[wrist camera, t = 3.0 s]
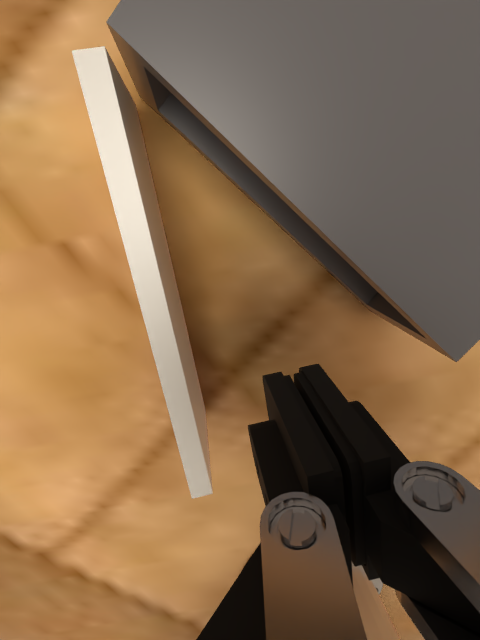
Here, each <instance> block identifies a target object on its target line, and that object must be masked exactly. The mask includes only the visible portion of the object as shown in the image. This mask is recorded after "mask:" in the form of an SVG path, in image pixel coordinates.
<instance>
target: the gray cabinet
mask: <svg viewBox="0 0 480 640" xmlns="http://www.w3.org/2000/svg"><path fill="white" fill-rule="evenodd" d="M107 25H108V27H109V29H110V31H111V33H112V36H113V38H114V40H115V42H116V45H117V47H118V49H119V51H120V53H121V56H122V58H123V60H124V62H125V65H126V67H127V69H128V71H129V73H130V76H131V78H132V80H133V82H134V85H135V87H136V89H137V91H138V93H139V96H140V97H141V98H142V99H143V100H144V101H145V102H146V103H147V104H148V105H149V106H150V107H152V108H153V109H154V110H155V111H156V112H157V113H158V114H159V115H160V116H161V117H162V118H163V119H164V120H166V121H167V122H168V123H169V124H170V125H171V126H172V127H173V128H174V129H175V130H176V131H177V132H178V133H180V134H181V135H182V136H183V137H184V138H185V139H186V140H187V141H188V142H189V143H190V144H191V145H192V146H194V147H195V148H196V149H197V150H198V151H199V152H200V153H201V154H202V155H203V156H204V157H205V158H206V159H208V160H209V161H210V162H211V163H212V164H213V165H214V166H215V167H216V168H217V169H218V170H219V171H220V172H222V173H223V174H224V175H225V176H226V177H227V178H228V179H229V180H230V181H231V182H232V183H233V184H234V185H236V186H237V187H238V188H239V189H240V190H241V191H242V192H243V193H244V194H245V195H246V196H247V197H248V198H250V199H251V200H252V201H253V202H254V203H255V204H256V205H257V206H258V207H259V208H260V209H261V210H262V211H264V212H265V213H266V214H267V215H268V216H269V217H270V218H271V219H272V220H273V221H274V222H275V223H276V224H278V225H279V226H280V227H281V228H282V229H283V230H284V231H285V232H286V233H287V234H288V235H289V236H290V237H292V238H293V239H294V240H295V241H296V242H297V243H298V244H299V245H300V246H301V247H302V248H303V249H304V250H306V251H307V252H308V253H309V254H310V255H311V256H312V257H313V258H314V259H315V260H316V261H317V262H318V263H320V264H321V265H322V266H323V267H324V268H325V269H326V270H327V271H328V272H329V273H330V274H331V275H332V276H334V277H335V278H336V279H337V280H338V281H339V282H340V283H341V284H342V285H343V286H344V287H345V288H346V289H348V290H349V291H350V292H351V293H352V294H353V295H354V296H355V297H356V298H357V299H358V300H359V301H360V302H362V303H363V304H364V305H365V306H366V307H367V308H368V309H369V310H370V311H371V312H373V313H375V314H376V315H378V316H380V317H381V318H383V319H385V320H386V321H388V322H390V323H391V324H393V325H395V326H396V327H398V328H400V329H402V330H403V331H405V332H407V333H408V334H410V335H412V336H413V337H415V338H417V339H418V340H420V341H422V342H423V343H425V344H427V345H428V346H430V347H432V348H433V349H435V350H437V351H439V352H440V353H442V354H444V355H445V356H447V357H449V358H450V359H452V360H454V361H455V362H457V361H458V360H459V359H460V358H461V357H462V356H463V355H464V354H465V353H466V352H467V351H468V350H469V349H470V348H471V347H473V346H474V345H475V344H476V343H477V342H478V341H479V340H480V0H121V1H120V2H119V4H118V5H117V7H116V8H115V10H114V11H113V13H112V14H111V16H110V17H109V19H108V20H107Z"/></svg>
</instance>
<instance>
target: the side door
mask: <svg viewBox="0 0 480 640" xmlns="http://www.w3.org/2000/svg"><path fill="white" fill-rule="evenodd" d="M72 54H73V57H74V61H75V65H76V69H77V72H78V76H79V80H80V84H81V87H82V91H83V95H84V98H85V102H86V106H87V110H88V113H89V117H90V121H91V125H92V128H93V132H94V136H95V139H96V143H97V147H98V151H99V154H100V158H101V162H102V165H103V169H104V173H105V177H106V180H107V184H108V188H109V192H110V195H111V199H112V203H113V206H114V210H115V214H116V218H117V221H118V225H119V229H120V232H121V236H122V240H123V244H124V247H125V251H126V255H127V259H128V262H129V266H130V270H131V273H132V277H133V281H134V285H135V288H136V292H137V296H138V300H139V303H140V307H141V311H142V314H143V318H144V322H145V326H146V329H147V333H148V337H149V340H150V344H151V348H152V352H153V355H154V359H155V363H156V367H157V370H158V374H159V378H160V381H161V385H162V389H163V393H164V396H165V400H166V404H167V407H168V411H169V415H170V419H171V422H172V426H173V430H174V434H175V437H176V441H177V445H178V448H179V452H180V456H181V460H182V463H183V467H184V471H185V475H186V478H187V482H188V486H189V489H190V493H191V497H192V499H193V498H197V497H201V496H205V495H209V494H213V491H212V480H211V468H210V457H209V445H208V433H207V422H206V410H205V406H204V402H203V397H202V393H201V388H200V384H199V380H198V375H197V371H196V367H195V362H194V358H193V353H192V349H191V345H190V340H189V336H188V331H187V327H186V323H185V318H184V314H183V309H182V305H181V301H180V296H179V292H178V287H177V283H176V279H175V274H174V270H173V265H172V261H171V257H170V252H169V248H168V244H167V239H166V235H165V230H164V226H163V222H162V217H161V213H160V208H159V204H158V200H157V195H156V191H155V186H154V182H153V178H152V173H151V169H150V164H149V160H148V156H147V151H146V147H145V142H144V138H143V134H142V129H141V125H140V121H139V116H138V112H137V107H136V104H135V103H134V101H133V99H132V97H131V95H130V93H129V91H128V89H127V88H126V86H125V84H124V82H123V80H122V78H121V76H120V74H119V73H118V71H117V69H116V67H115V65H114V63H113V61H112V59H111V58H110V56H109V54H108V52H107V50H106V48H105V46H103V47H95V48H88V49H81V50H73V51H72Z"/></svg>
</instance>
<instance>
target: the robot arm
mask: <svg viewBox="0 0 480 640" xmlns="http://www.w3.org/2000/svg"><path fill="white" fill-rule="evenodd" d="M263 384H264V391H265V397H266V403H267V410H268V416H269V421H265V422H260V423H256V424H252V425H248V430H249V436H250V441H251V447H252V452H253V457H254V461H255V466H256V470H257V474H258V479H259V482H260V486H261V490H262V494H263V498H264V502H265V506H266V507H265V509H264V511H263V513H262V515H261V521H260V537H261V543H260V545H259V546H258V548H257V549H256V551H255V552H254V554H253V555H252V557H251V558H250V560H249V561H248V563H247V564H246V566H245V567H244V569H243V570H242V572H241V573H240V575H239V576H238V578H237V579H236V581H235V582H234V584H233V585H232V587H231V588H230V590H229V591H228V593H227V594H226V596H225V597H224V599H223V600H222V602H221V603H220V605H219V606H218V608H217V609H216V611H215V612H214V614H213V616H212V617H211V619H210V620H209V622H208V623H207V625H206V626H205V628H204V629H203V631H202V632H201V634H200V635H199V637H198V638H197V640H401V639H400V637H399V635H398V633H397V631H396V629H395V627H394V625H393V623H392V621H391V619H390V617H389V615H388V613H387V611H386V609H385V606H384V604H383V602H382V600H381V598H380V596H379V594H380V592H381V590H382V587H383V583H384V584H386V585H388V586H390V587H392V588H394V589H395V592H396V595H397V597H398V599H399V601H400V603H401V605H402V607H403V608H404V609H405V611H406V612H407V614H408V615H409V617H410V618H411V620H412V621H413V623H414V624H415V626H416V627H417V629H418V630H419V632H420V633H421V634H422V636H423V637H424V639H425V640H480V490H479V489H477V488H476V487H475V486H474V485H473V484H471V483H470V482H469V481H468V480H466V479H465V478H464V477H463V476H462V475H460V474H459V473H457V472H456V471H454V470H452V469H451V468H448V467H446V466H444V465H441V464H438V463H433V462H428V461H416V462H411V463H410V462H409V461H408V459H407V458H406V457H405V456H404V455H403V453H402V452H401V451H400V450H399V449H398V447H397V446H396V445H395V444H394V443H393V441H392V440H391V439H390V438H389V436H388V435H387V434H386V433H385V432H384V430H383V429H382V428H381V427H380V426H379V424H378V423H377V422H376V421H375V420H374V418H373V417H372V416H371V415H370V414H369V412H368V411H367V410H366V409H365V408H364V406H363V405H362V404H361V403H360V402H358V401H353V402H348V401H347V400H346V398H345V397H344V396H343V395H342V393H341V392H340V391H339V389H338V388H337V387H336V386H335V384H334V383H333V382H332V380H331V379H330V378H329V377H328V375H327V374H326V373H325V371H324V370H323V369H322V368H321V366H320V365H319V364H314V365H310V366H305V367H300V368H299V373H296V374H294V382H293V381H292V379H291V377H290V376H289V375H287V376H283V374H282V372H277V373H273V374H268V375H264V376H263Z"/></svg>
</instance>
